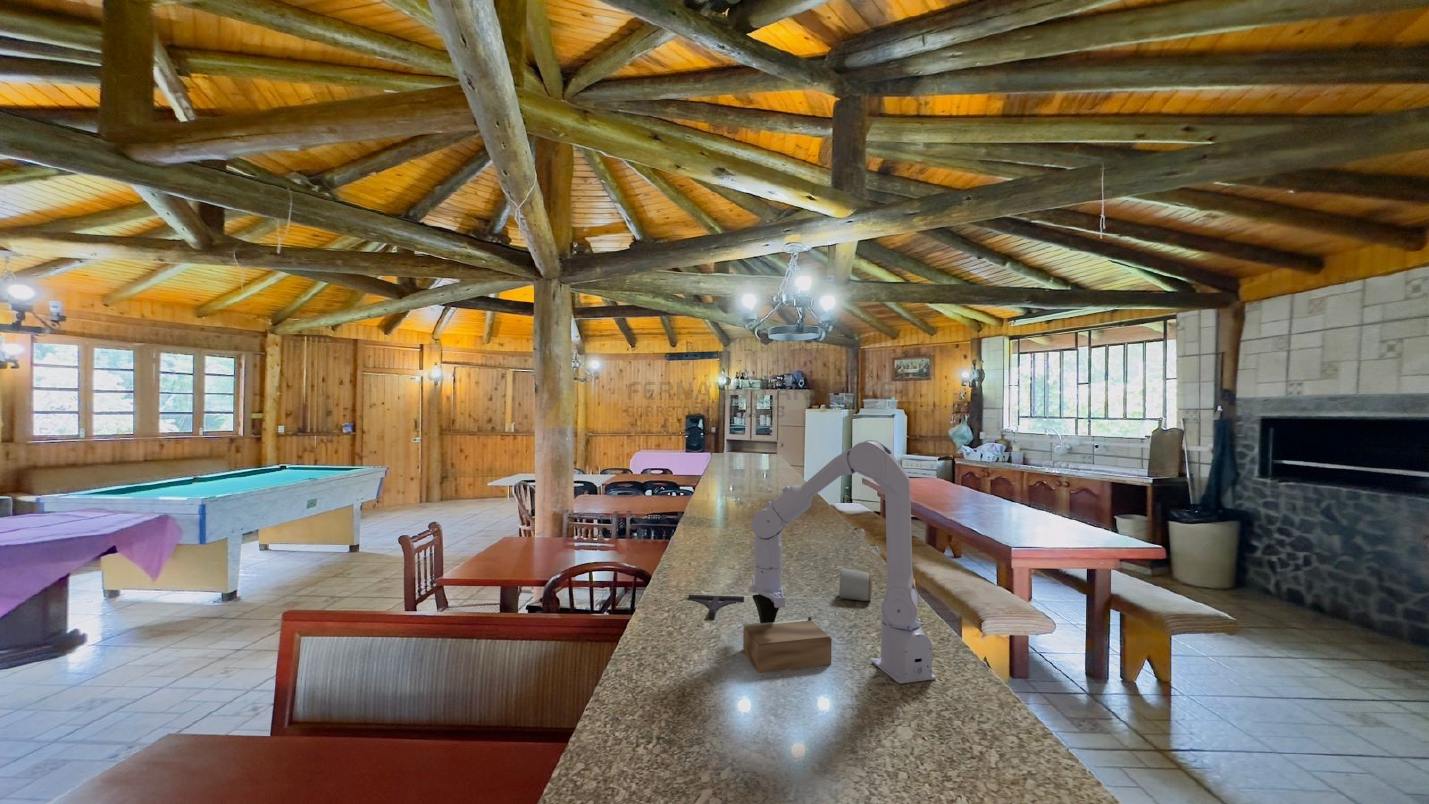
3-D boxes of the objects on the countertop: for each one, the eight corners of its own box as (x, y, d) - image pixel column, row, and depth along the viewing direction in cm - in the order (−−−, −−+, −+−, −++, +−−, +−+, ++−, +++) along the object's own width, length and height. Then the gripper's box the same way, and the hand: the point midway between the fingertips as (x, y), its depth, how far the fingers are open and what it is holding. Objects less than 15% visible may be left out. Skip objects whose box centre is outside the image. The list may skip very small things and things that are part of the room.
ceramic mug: (871, 605, 142) (871, 575, 142) (838, 601, 144) (839, 571, 144) (872, 593, 152) (873, 565, 152) (842, 590, 154) (842, 562, 155)
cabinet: (832, 664, 108) (833, 635, 108) (758, 673, 104) (759, 642, 104) (810, 643, 118) (810, 616, 118) (741, 650, 114) (741, 622, 114)
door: (804, 639, 119) (804, 617, 119) (808, 643, 117) (808, 621, 117) (741, 645, 115) (741, 622, 116) (744, 649, 114) (744, 626, 114)
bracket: (681, 621, 131) (681, 609, 131) (689, 600, 146) (689, 589, 146) (742, 624, 130) (742, 612, 130) (744, 602, 145) (744, 591, 145)
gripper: (739, 557, 123) (738, 619, 123) (761, 576, 109) (760, 646, 109) (769, 556, 125) (768, 616, 125) (795, 574, 111) (794, 643, 111)
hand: (767, 630), depth 117 cm, fingers closed
